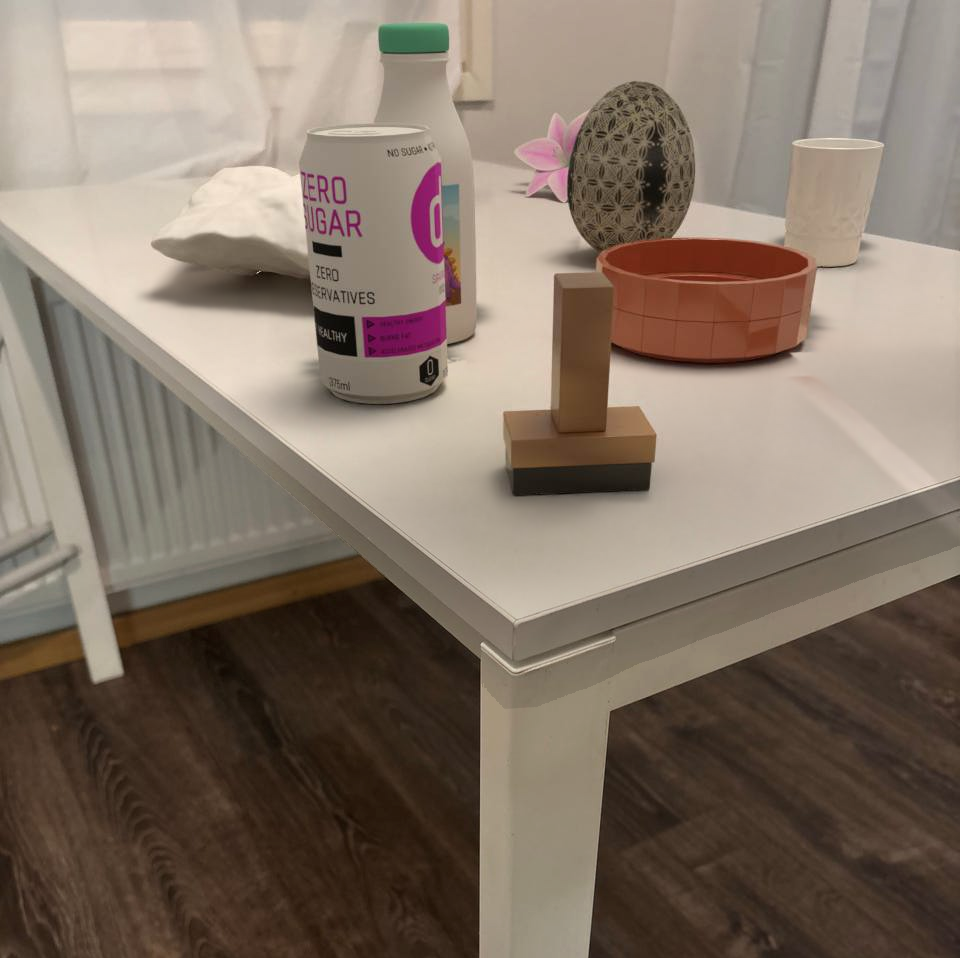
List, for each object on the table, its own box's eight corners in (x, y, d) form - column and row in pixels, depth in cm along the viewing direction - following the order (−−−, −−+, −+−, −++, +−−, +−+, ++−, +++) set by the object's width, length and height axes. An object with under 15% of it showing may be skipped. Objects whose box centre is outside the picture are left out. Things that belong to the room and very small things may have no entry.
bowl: (766, 307, 82) (775, 234, 79) (836, 363, 69) (851, 279, 66) (579, 313, 81) (582, 240, 78) (615, 371, 68) (620, 287, 65)
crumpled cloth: (204, 322, 75) (204, 188, 70) (105, 238, 101) (100, 137, 96) (480, 326, 86) (495, 211, 82) (327, 250, 112) (332, 160, 107)
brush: (635, 459, 55) (649, 267, 50) (652, 490, 51) (669, 287, 46) (503, 464, 55) (503, 271, 49) (511, 496, 51) (511, 292, 46)
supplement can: (460, 370, 68) (454, 122, 61) (428, 411, 62) (416, 138, 54) (346, 364, 70) (326, 121, 62) (302, 403, 63) (273, 137, 55)
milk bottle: (406, 316, 81) (391, 22, 70) (493, 327, 78) (492, 21, 67) (354, 341, 75) (330, 24, 64) (447, 354, 72) (437, 24, 61)
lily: (511, 197, 135) (493, 131, 127) (587, 155, 136) (574, 87, 128) (553, 241, 128) (537, 174, 121) (633, 196, 129) (623, 127, 121)
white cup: (763, 262, 95) (779, 145, 90) (793, 248, 101) (809, 136, 95) (847, 272, 91) (868, 150, 86) (874, 256, 97) (895, 140, 92)
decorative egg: (550, 249, 102) (554, 79, 94) (661, 243, 103) (674, 75, 96) (584, 275, 92) (592, 87, 84) (706, 268, 94) (725, 83, 86)
